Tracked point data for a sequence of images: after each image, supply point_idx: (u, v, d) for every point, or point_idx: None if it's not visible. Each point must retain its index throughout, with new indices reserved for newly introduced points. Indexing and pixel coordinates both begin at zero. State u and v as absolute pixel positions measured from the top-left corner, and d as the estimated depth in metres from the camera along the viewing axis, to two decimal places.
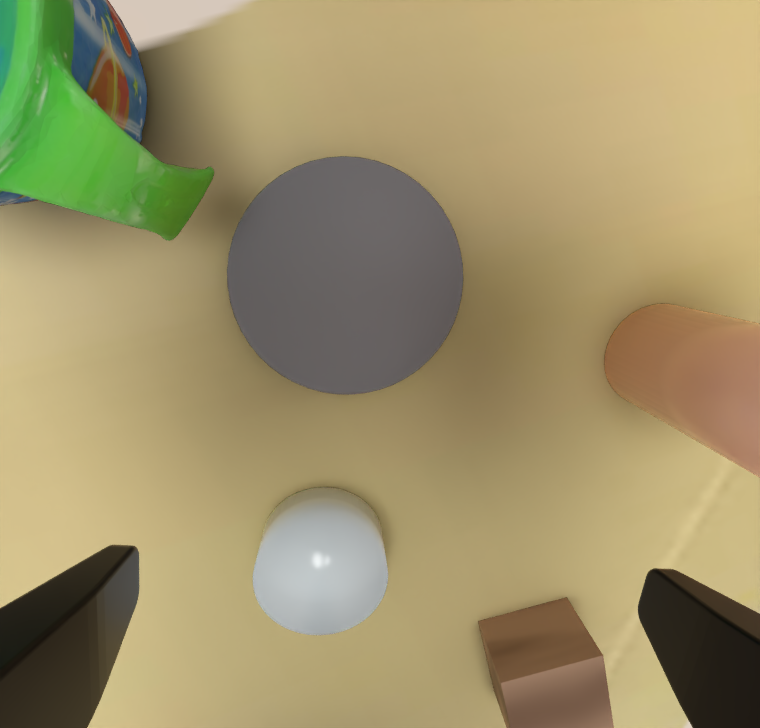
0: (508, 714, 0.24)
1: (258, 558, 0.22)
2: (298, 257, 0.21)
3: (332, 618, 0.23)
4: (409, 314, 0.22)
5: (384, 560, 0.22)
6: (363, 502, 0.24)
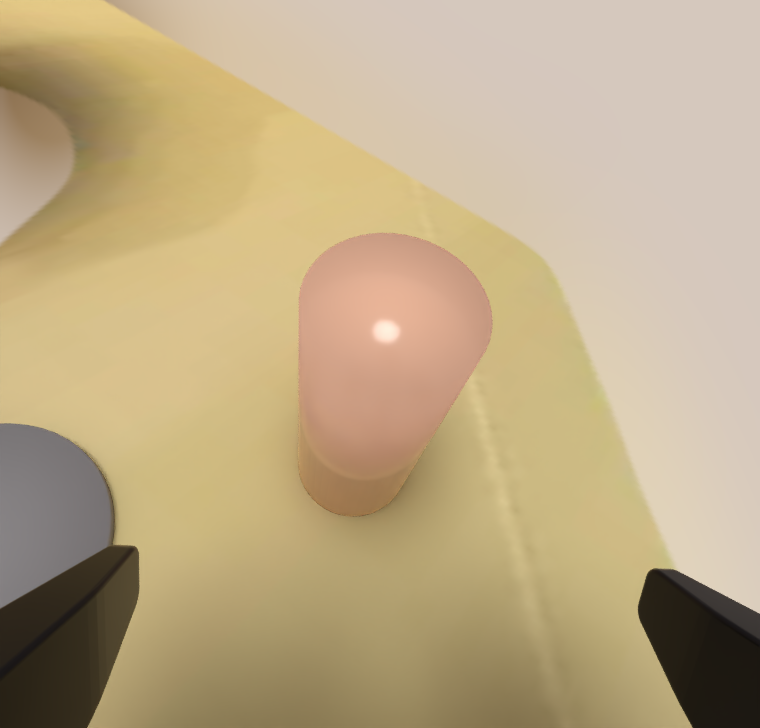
0: None
1: None
2: None
3: None
4: (51, 545, 0.19)
5: None
6: None
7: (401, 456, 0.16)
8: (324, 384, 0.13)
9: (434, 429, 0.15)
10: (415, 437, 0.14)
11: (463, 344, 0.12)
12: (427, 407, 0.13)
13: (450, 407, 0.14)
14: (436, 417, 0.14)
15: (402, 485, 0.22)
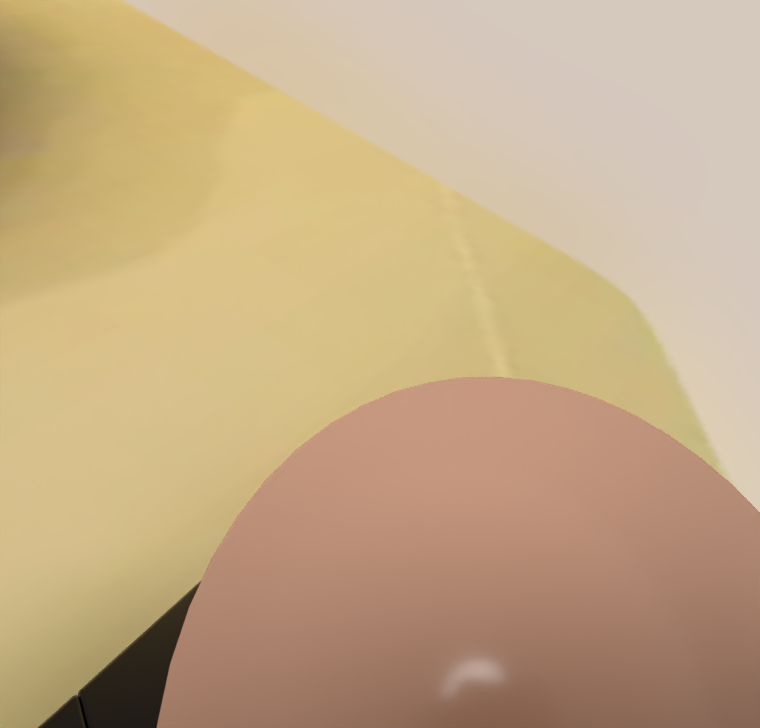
0: None
1: None
2: None
3: None
4: None
5: None
6: None
7: None
8: None
9: None
10: None
11: None
12: None
13: None
14: None
15: None
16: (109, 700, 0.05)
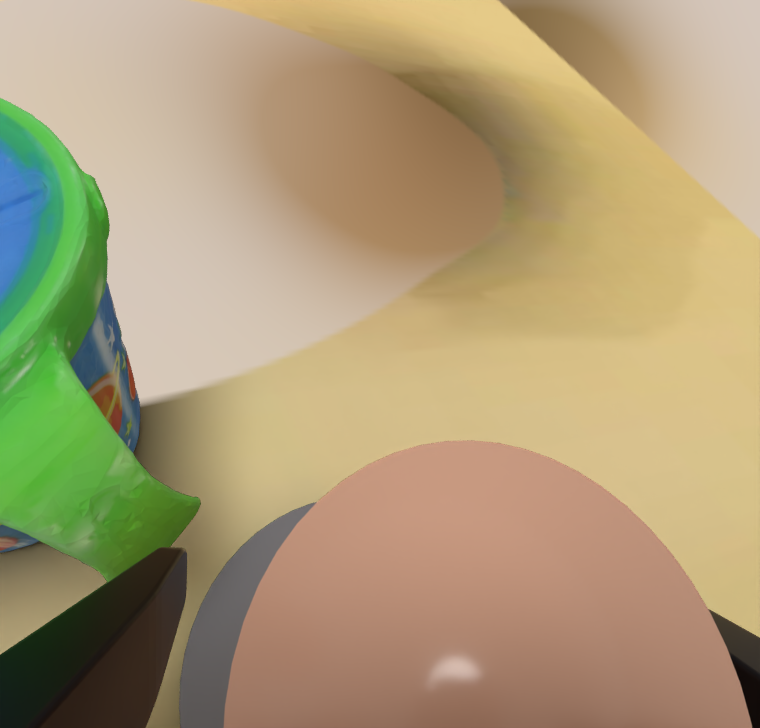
0: None
1: None
2: None
3: None
4: None
5: None
6: None
7: None
8: None
9: None
10: None
11: None
12: None
13: None
14: None
15: None
16: None
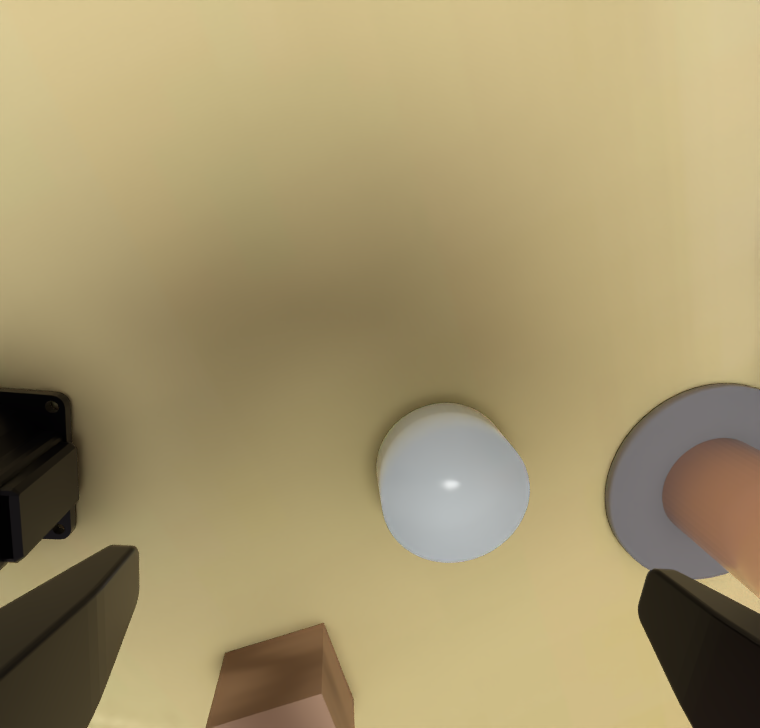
0: (275, 708, 0.21)
1: (490, 433, 0.19)
2: None
3: (403, 510, 0.20)
4: (677, 539, 0.24)
5: (473, 557, 0.21)
6: None
7: None
8: None
9: None
10: None
11: None
12: None
13: None
14: None
15: None
16: None
